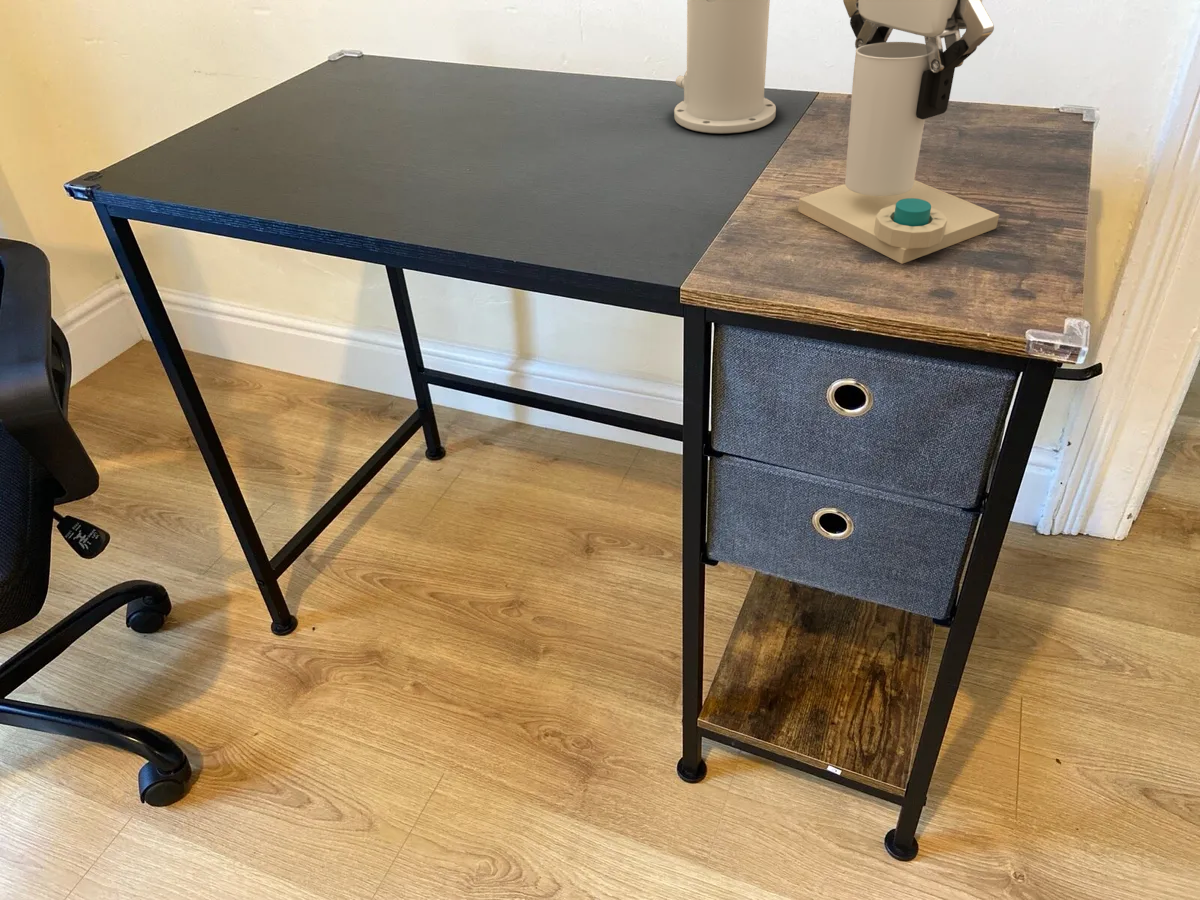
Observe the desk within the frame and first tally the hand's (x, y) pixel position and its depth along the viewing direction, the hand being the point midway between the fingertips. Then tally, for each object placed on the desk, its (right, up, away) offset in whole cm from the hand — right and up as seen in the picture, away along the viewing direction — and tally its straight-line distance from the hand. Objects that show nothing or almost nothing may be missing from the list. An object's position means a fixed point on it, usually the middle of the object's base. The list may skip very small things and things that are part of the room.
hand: (899, 103), depth 80 cm
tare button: (+1, -11, -1) cm, 11 cm away
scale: (+1, -9, +5) cm, 11 cm away
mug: (0, -6, +5) cm, 7 cm away
